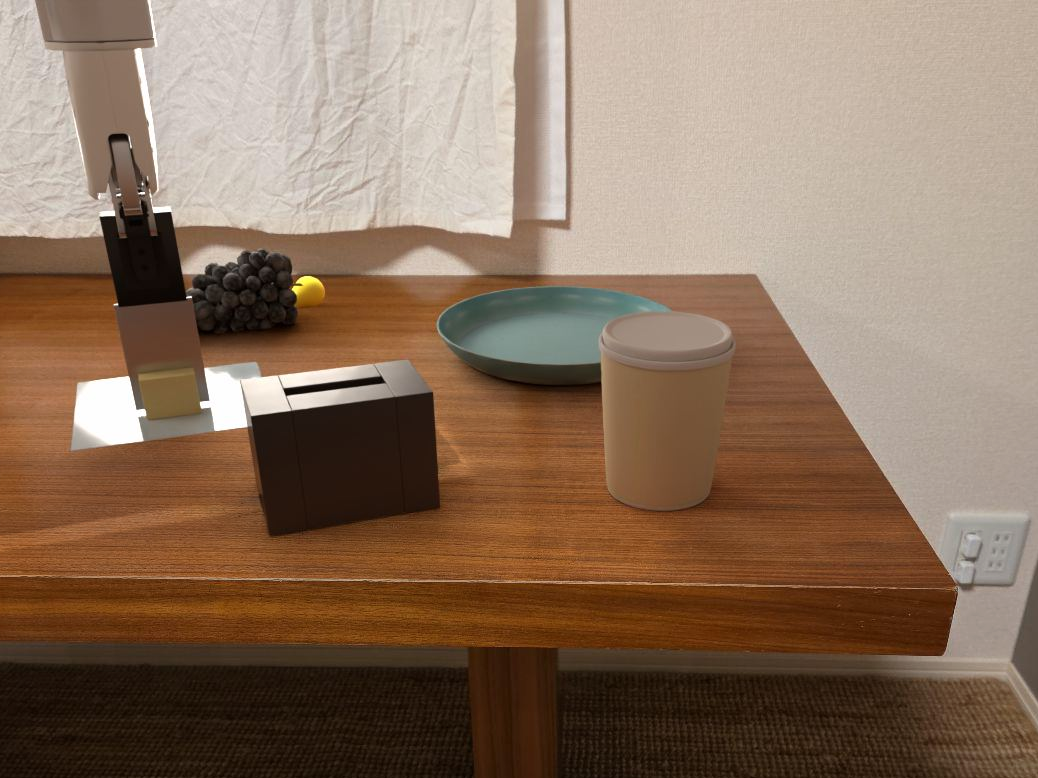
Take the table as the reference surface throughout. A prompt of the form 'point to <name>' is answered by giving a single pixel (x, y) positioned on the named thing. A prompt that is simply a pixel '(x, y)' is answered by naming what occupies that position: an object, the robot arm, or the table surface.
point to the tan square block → (169, 393)
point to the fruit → (245, 293)
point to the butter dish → (116, 421)
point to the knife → (155, 313)
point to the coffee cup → (663, 406)
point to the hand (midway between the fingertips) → (148, 281)
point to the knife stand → (342, 445)
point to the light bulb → (309, 292)
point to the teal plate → (537, 331)
